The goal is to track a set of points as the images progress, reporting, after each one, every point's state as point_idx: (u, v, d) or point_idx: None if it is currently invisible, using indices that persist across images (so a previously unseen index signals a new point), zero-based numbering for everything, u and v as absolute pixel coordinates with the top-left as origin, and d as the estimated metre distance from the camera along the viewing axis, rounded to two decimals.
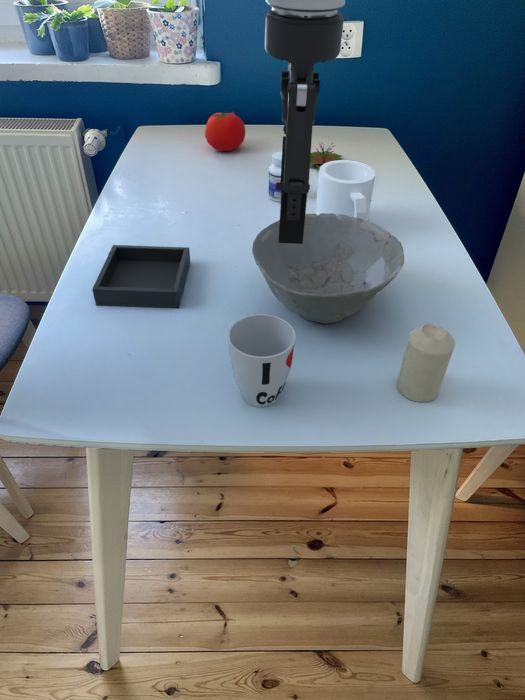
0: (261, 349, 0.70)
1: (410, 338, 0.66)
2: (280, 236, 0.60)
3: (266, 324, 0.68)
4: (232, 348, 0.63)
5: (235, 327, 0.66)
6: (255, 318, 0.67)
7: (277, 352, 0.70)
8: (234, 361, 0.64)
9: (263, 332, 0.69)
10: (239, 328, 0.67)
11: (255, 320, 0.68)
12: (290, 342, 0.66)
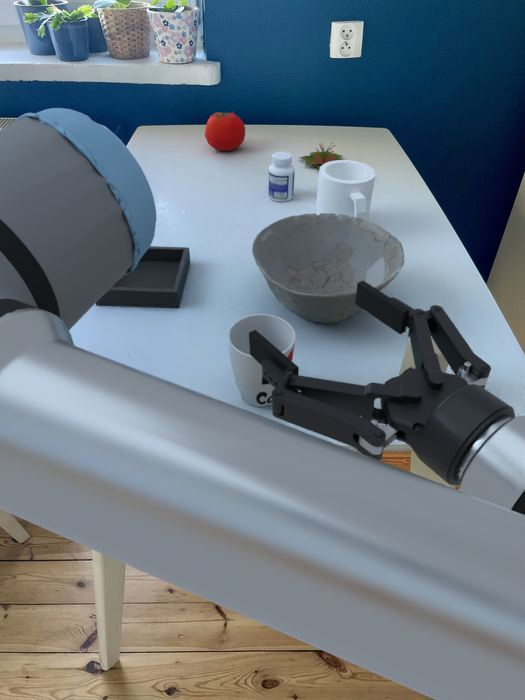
0: None
1: None
2: (253, 338, 0.49)
3: (266, 324, 0.68)
4: (232, 348, 0.63)
5: (235, 327, 0.66)
6: (255, 318, 0.67)
7: None
8: (234, 361, 0.64)
9: (263, 332, 0.69)
10: (239, 328, 0.67)
11: (255, 320, 0.68)
12: (290, 342, 0.66)
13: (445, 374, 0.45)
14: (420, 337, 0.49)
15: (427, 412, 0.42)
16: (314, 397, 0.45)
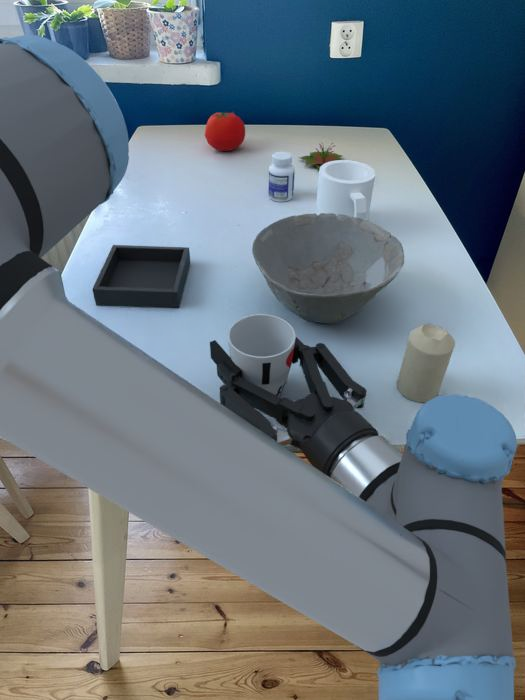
0: (261, 349, 0.70)
1: (410, 338, 0.66)
2: (212, 346, 0.67)
3: (266, 324, 0.68)
4: (232, 348, 0.63)
5: (235, 327, 0.66)
6: (255, 318, 0.67)
7: (277, 352, 0.70)
8: (234, 361, 0.64)
9: (263, 332, 0.69)
10: (239, 328, 0.67)
11: (255, 320, 0.68)
12: (290, 342, 0.66)
13: (337, 399, 0.61)
14: (310, 370, 0.64)
15: None
16: (247, 396, 0.62)
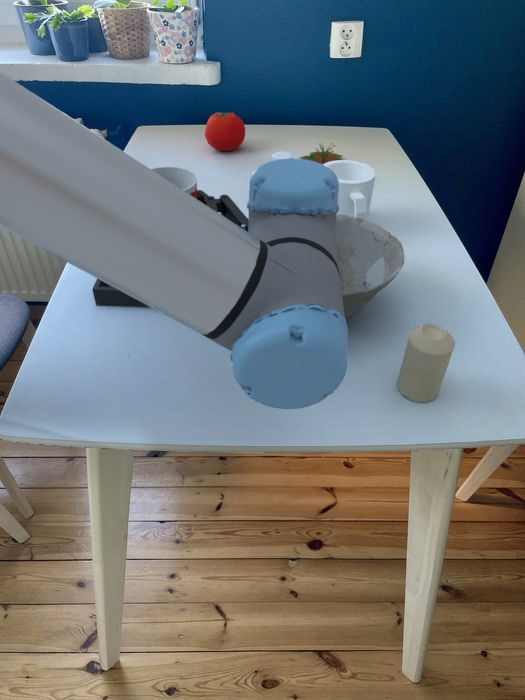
0: None
1: (410, 338, 0.66)
2: None
3: (174, 177, 0.72)
4: None
5: None
6: (163, 170, 0.72)
7: None
8: None
9: None
10: None
11: (163, 173, 0.72)
12: None
13: None
14: None
15: None
16: None
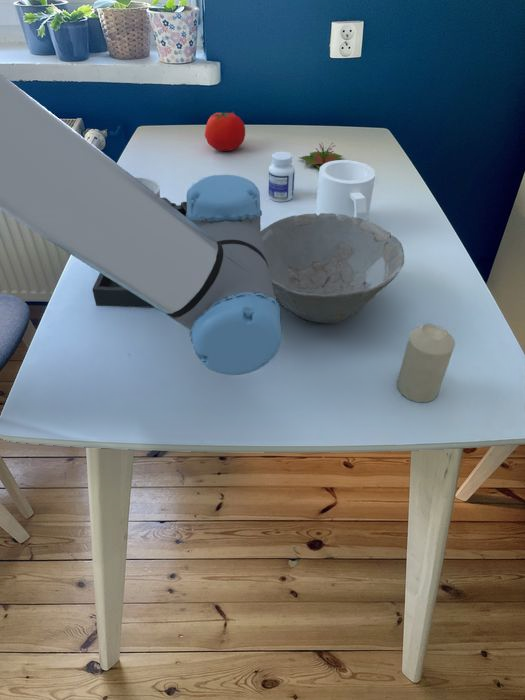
0: None
1: (410, 338, 0.66)
2: None
3: None
4: None
5: None
6: None
7: None
8: None
9: None
10: None
11: None
12: None
13: None
14: None
15: None
16: None
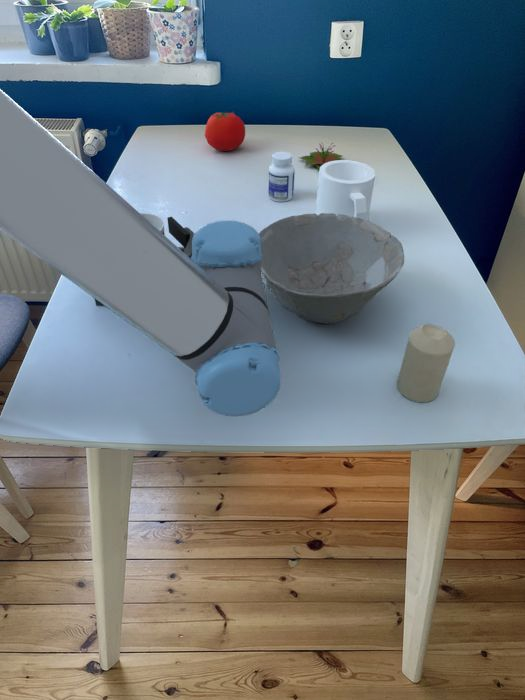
0: None
1: (410, 338, 0.66)
2: None
3: None
4: None
5: None
6: None
7: None
8: None
9: None
10: None
11: None
12: None
13: None
14: (187, 248, 0.81)
15: None
16: None
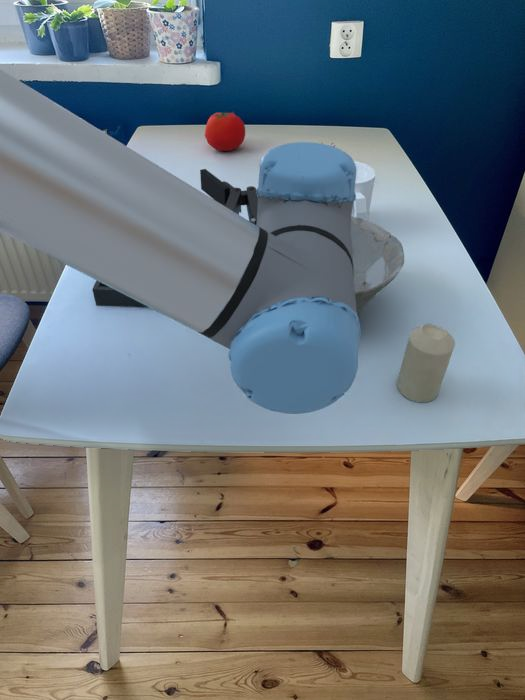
0: None
1: (410, 338, 0.66)
2: None
3: None
4: None
5: None
6: None
7: None
8: None
9: None
10: None
11: None
12: None
13: None
14: (228, 203, 0.65)
15: None
16: None
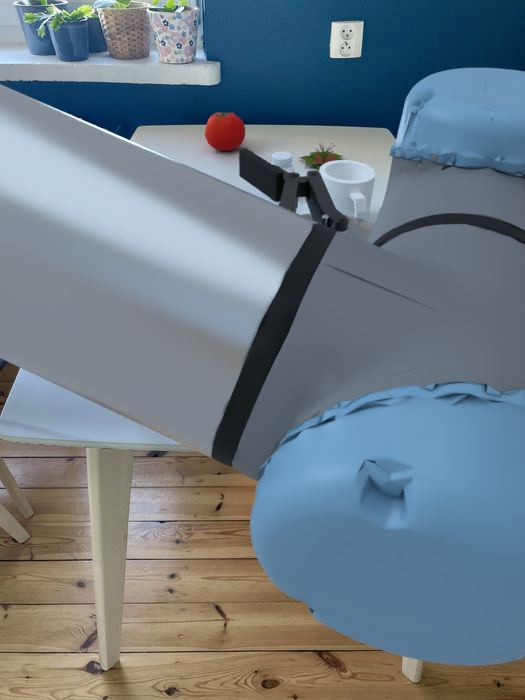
0: None
1: None
2: None
3: None
4: None
5: None
6: None
7: None
8: None
9: None
10: None
11: None
12: None
13: None
14: (284, 194, 0.45)
15: None
16: None
